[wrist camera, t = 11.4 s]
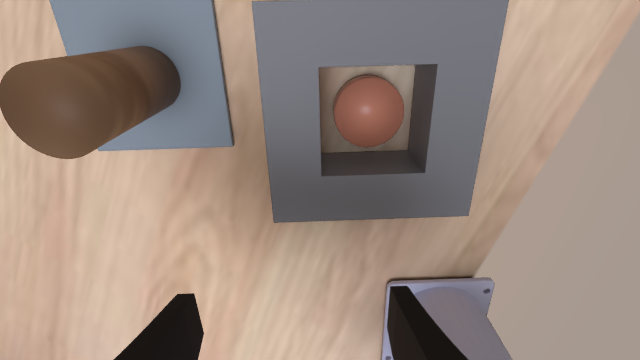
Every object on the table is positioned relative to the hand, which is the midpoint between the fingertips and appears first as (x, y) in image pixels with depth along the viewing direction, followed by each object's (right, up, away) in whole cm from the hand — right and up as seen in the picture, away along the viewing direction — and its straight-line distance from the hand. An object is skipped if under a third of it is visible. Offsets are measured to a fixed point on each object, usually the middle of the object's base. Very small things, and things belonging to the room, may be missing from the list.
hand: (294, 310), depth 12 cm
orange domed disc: (+4, +9, +7) cm, 12 cm away
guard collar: (+4, +9, +7) cm, 12 cm away
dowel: (-8, +10, +6) cm, 15 cm away
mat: (-8, +10, +6) cm, 15 cm away
